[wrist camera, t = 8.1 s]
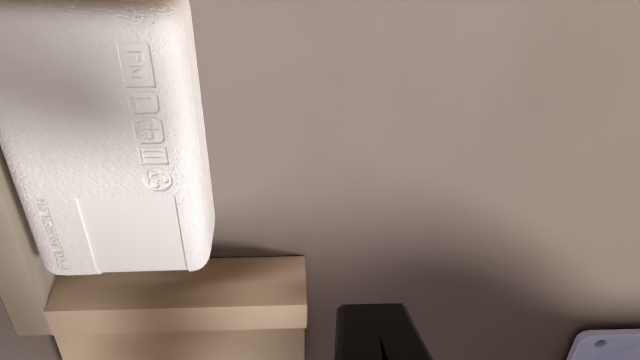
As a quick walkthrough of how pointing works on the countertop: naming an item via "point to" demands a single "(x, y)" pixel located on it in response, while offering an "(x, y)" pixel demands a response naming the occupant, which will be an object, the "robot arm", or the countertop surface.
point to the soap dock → (152, 303)
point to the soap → (106, 133)
